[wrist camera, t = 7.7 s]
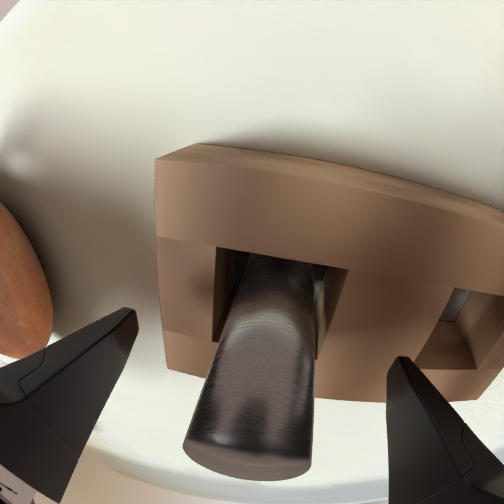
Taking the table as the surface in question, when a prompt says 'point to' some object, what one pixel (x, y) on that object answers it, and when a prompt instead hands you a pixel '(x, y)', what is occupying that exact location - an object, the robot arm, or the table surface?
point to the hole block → (333, 266)
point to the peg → (261, 378)
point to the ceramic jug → (21, 293)
